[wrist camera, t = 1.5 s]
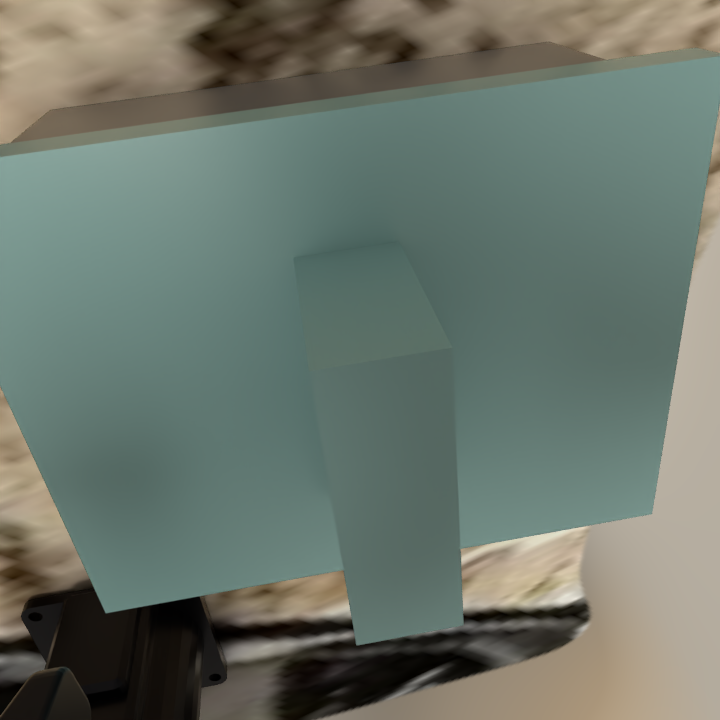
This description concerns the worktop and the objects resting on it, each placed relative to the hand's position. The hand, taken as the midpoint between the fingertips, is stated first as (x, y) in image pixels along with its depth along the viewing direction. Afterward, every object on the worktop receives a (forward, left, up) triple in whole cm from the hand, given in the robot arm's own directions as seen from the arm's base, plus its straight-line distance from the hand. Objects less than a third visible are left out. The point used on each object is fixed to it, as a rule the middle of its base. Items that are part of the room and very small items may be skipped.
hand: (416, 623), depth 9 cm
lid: (0, 0, -8) cm, 8 cm away
